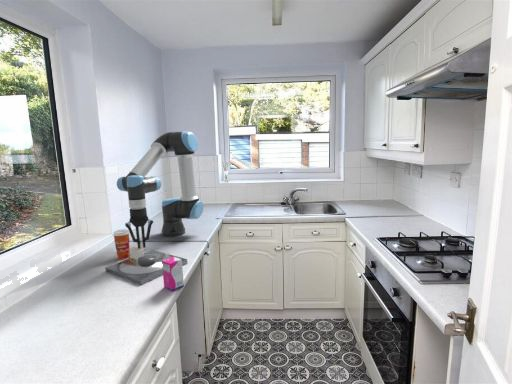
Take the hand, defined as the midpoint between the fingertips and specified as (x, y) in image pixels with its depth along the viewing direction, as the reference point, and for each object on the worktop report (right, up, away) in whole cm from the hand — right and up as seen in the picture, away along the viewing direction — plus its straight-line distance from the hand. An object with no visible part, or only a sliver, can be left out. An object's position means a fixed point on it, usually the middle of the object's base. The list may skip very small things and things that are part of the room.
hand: (142, 254), depth 145 cm
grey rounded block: (+2, -2, -4) cm, 5 cm away
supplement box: (+23, -8, -26) cm, 35 cm away
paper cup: (-13, -3, +8) cm, 15 cm away
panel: (+5, -5, -6) cm, 9 cm away
